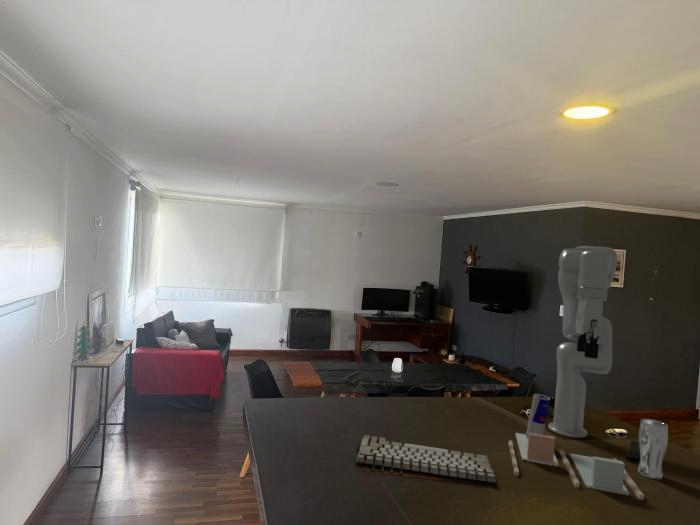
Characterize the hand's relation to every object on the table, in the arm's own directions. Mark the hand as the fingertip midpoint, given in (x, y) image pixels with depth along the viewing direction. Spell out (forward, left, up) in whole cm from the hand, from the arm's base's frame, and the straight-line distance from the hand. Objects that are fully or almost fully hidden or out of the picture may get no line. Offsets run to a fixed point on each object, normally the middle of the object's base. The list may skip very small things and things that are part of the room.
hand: (586, 354), depth 132 cm
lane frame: (-1, -2, -33) cm, 33 cm away
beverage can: (-18, -9, -33) cm, 38 cm away
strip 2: (-1, +6, -33) cm, 34 cm away
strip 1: (-12, -9, -33) cm, 37 cm away
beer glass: (-8, +21, -34) cm, 40 cm away
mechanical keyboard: (+14, -42, -34) cm, 56 cm away
